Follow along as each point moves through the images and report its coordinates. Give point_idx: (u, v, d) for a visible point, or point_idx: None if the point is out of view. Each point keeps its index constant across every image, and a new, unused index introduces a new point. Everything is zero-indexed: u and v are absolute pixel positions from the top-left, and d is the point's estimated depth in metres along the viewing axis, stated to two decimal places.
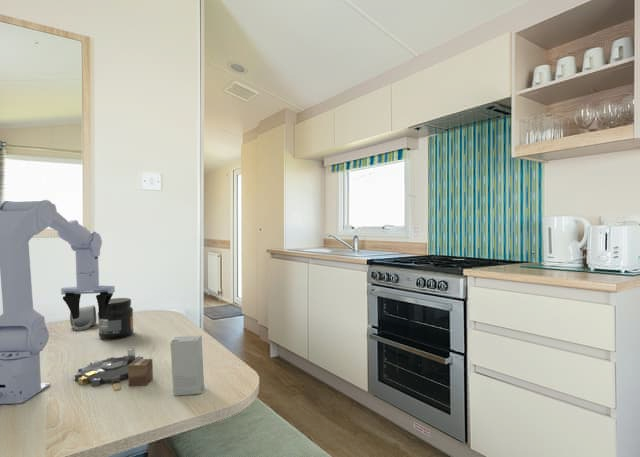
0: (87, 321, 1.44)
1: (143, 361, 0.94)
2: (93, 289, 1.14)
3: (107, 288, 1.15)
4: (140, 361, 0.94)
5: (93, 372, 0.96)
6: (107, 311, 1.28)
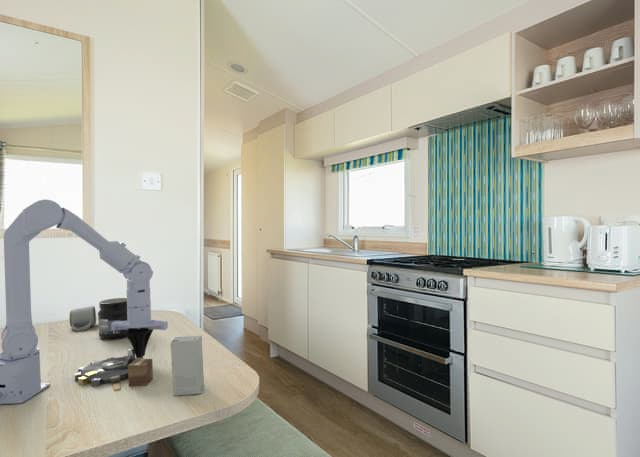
0: (87, 322, 1.43)
1: (143, 361, 0.94)
2: (145, 325, 1.02)
3: (160, 324, 1.03)
4: (140, 361, 0.94)
5: (93, 372, 0.96)
6: (107, 311, 1.28)
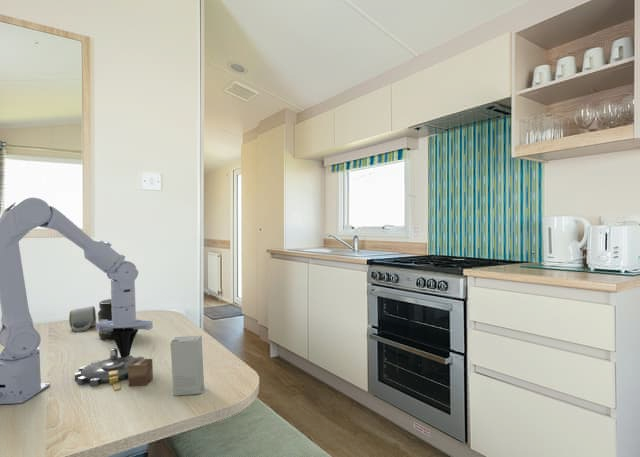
0: (86, 322, 1.42)
1: (143, 361, 0.94)
2: (129, 325, 1.02)
3: (144, 324, 1.03)
4: (140, 361, 0.93)
5: (113, 371, 0.96)
6: (107, 311, 1.28)
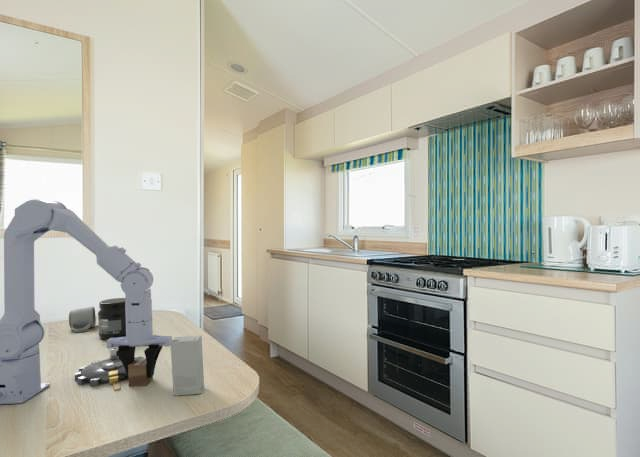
0: (86, 323, 1.41)
1: (143, 361, 0.94)
2: (147, 342, 0.91)
3: (164, 340, 0.92)
4: (140, 361, 0.94)
5: (113, 371, 0.96)
6: (107, 311, 1.28)
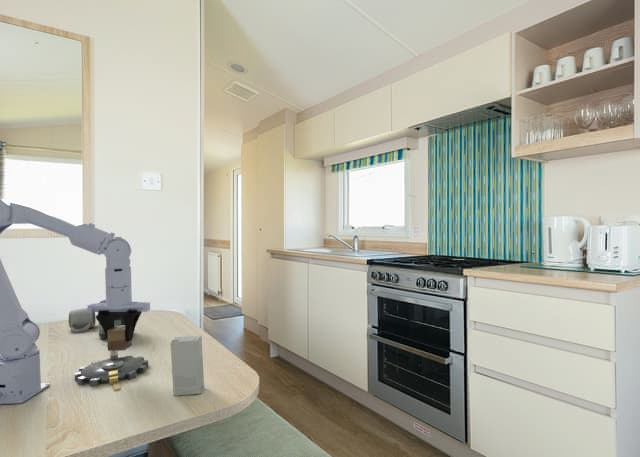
0: (86, 323, 1.41)
1: (122, 327, 0.98)
2: (126, 307, 0.95)
3: (142, 305, 0.97)
4: (119, 327, 0.98)
5: (113, 371, 0.96)
6: None
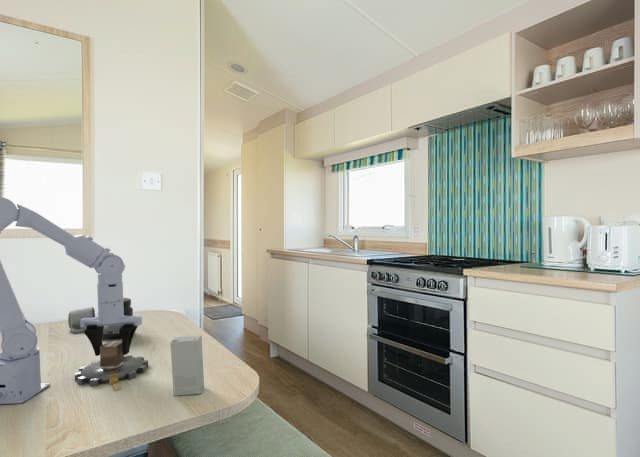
0: None
1: (114, 343, 1.00)
2: (118, 321, 0.98)
3: (134, 320, 0.99)
4: (112, 343, 1.00)
5: (113, 371, 0.96)
6: None
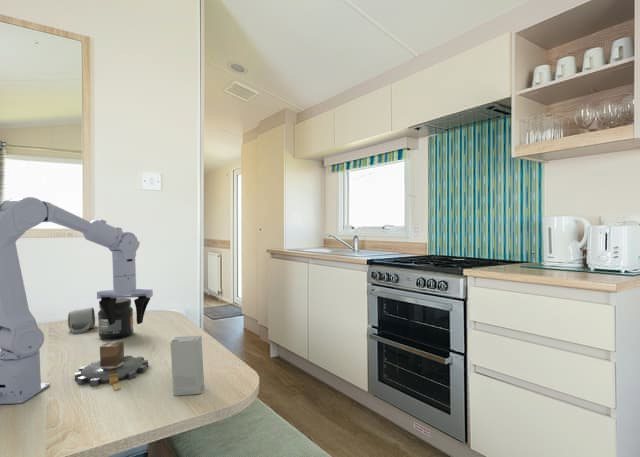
0: (85, 324, 1.40)
1: (114, 343, 1.00)
2: (131, 293, 1.08)
3: (145, 292, 1.09)
4: (111, 343, 1.00)
5: (113, 371, 0.96)
6: None
